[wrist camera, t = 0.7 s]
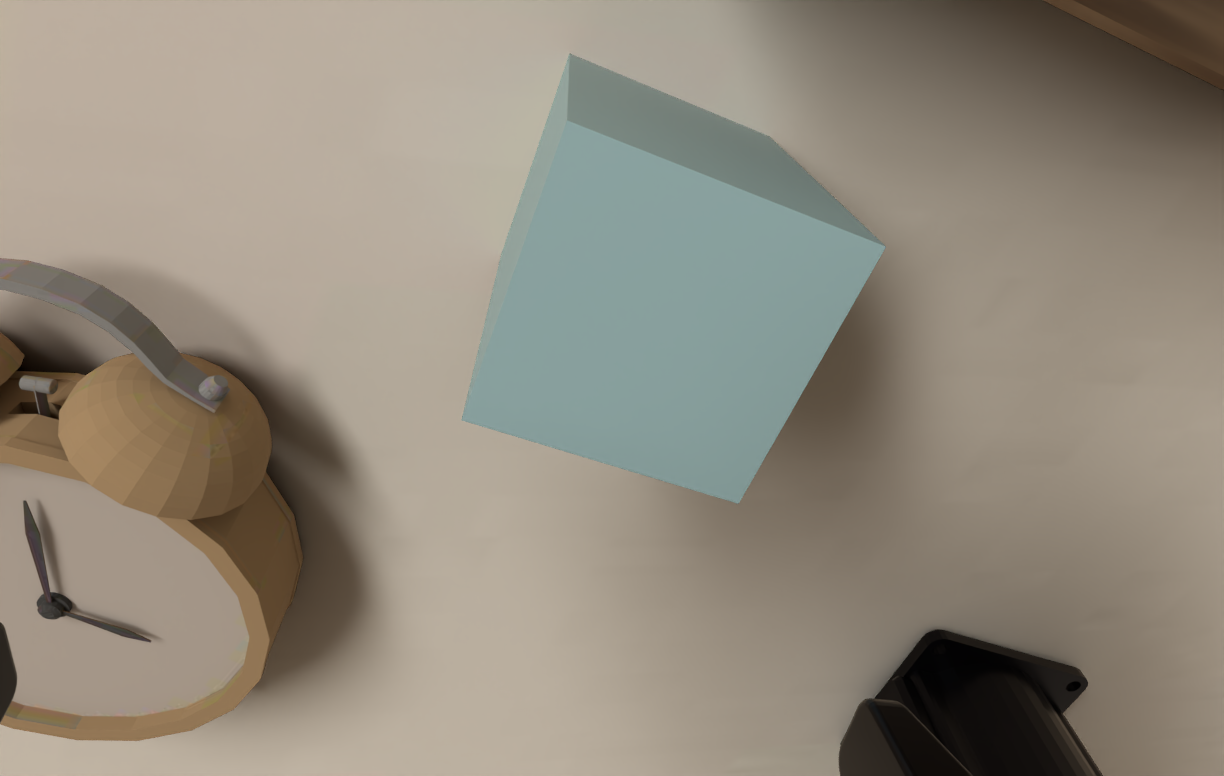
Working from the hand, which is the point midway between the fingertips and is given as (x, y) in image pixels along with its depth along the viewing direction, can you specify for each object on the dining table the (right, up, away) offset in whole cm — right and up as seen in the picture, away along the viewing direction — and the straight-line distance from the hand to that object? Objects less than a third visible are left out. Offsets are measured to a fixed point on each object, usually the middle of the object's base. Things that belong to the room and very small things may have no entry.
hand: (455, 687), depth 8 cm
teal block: (+2, +8, +11) cm, 13 cm away
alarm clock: (-13, +1, +14) cm, 19 cm away
